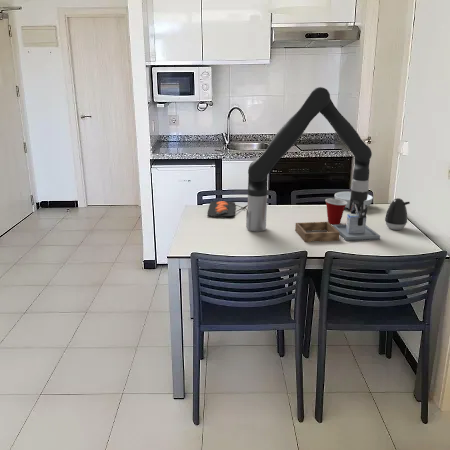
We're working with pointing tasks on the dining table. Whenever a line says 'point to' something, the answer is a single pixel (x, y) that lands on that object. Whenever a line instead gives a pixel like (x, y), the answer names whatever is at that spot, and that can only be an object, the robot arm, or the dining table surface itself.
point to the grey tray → (367, 235)
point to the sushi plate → (222, 209)
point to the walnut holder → (318, 236)
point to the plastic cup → (335, 210)
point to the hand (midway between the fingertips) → (356, 222)
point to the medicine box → (354, 224)
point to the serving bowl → (346, 197)
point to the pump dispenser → (396, 214)
